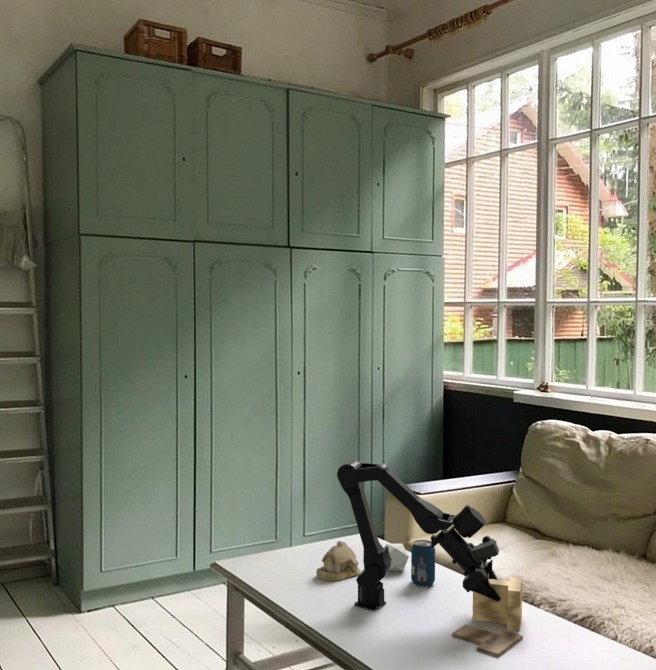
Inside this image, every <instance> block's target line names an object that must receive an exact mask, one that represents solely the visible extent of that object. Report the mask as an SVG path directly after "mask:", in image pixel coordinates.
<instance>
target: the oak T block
mask: <svg viewBox="0 0 656 670" xmlns="http://www.w3.org/2000/svg"><path fill="white" fill-rule="evenodd" d="M489 582H490V583H491V585H492V586H493V588H494V589H495V590H496V592H497V593H498V595H499V596H500V598H501V600H500V601H498V602H497V601H495V600H493V599H491V598H488V597H486V596H484V595H481V594H479V593H476V592H474V591H473V592H472V621H478V622H483V623H484V622H485V623H493V624H502V625H506V629H507V631H508V630H509V631H516V630H518V631H517V632H520V630H521V625H522V617H523V578H522V577H514V576H510V577H509V580H503V579H498V580H495V579H489Z"/></svg>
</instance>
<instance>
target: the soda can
mask: <svg viewBox="0 0 656 670" xmlns="http://www.w3.org/2000/svg"><path fill="white" fill-rule="evenodd" d="M410 550H411V551H410V552H411V553H410V554H411V557H410V558H411V560H410V561H411V562H410V573H411V574H410V579H411V582H412V583H413V585H414V584H415V585H414V586H416V587H421V588H428V587H431V586H433V584H434V583H435V581H436V548H435V546H434V547H433V548H431V540H427V539H417V540H414V541H413V544H412V547H411V549H410Z"/></svg>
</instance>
